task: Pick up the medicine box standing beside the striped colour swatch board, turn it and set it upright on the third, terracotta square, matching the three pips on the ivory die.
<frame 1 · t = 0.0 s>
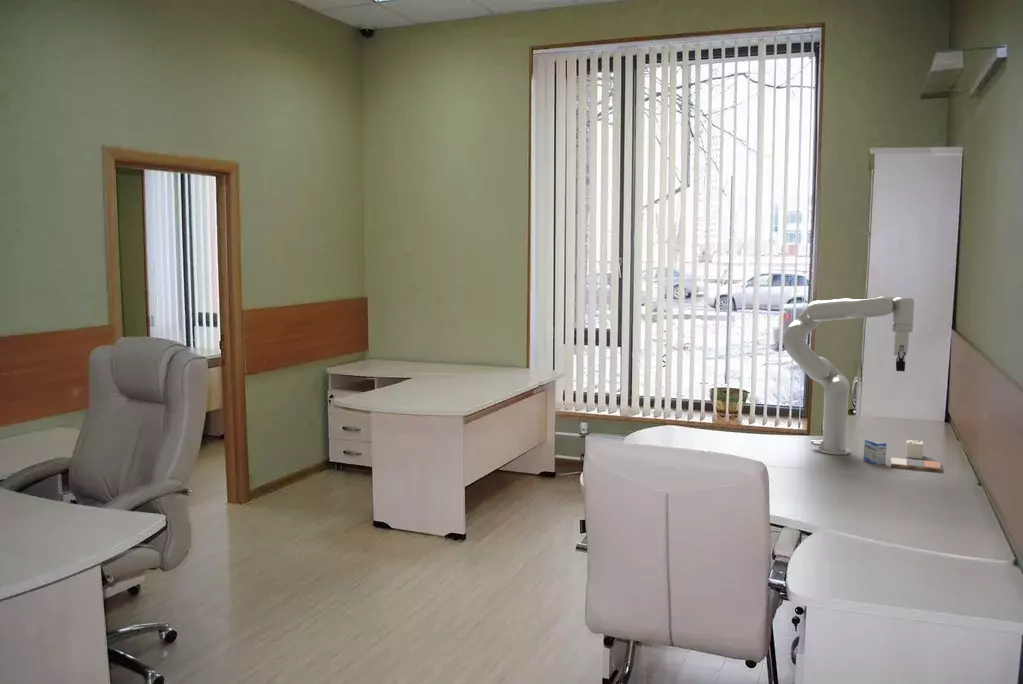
hand: (900, 369, 351), 37 cm above the table, tool pointing down, fingers open, 9 cm apart
medicine box: (874, 462, 347), on the table
striped colour swatch board: (915, 466, 342), on the table
die: (914, 456, 357), on the table
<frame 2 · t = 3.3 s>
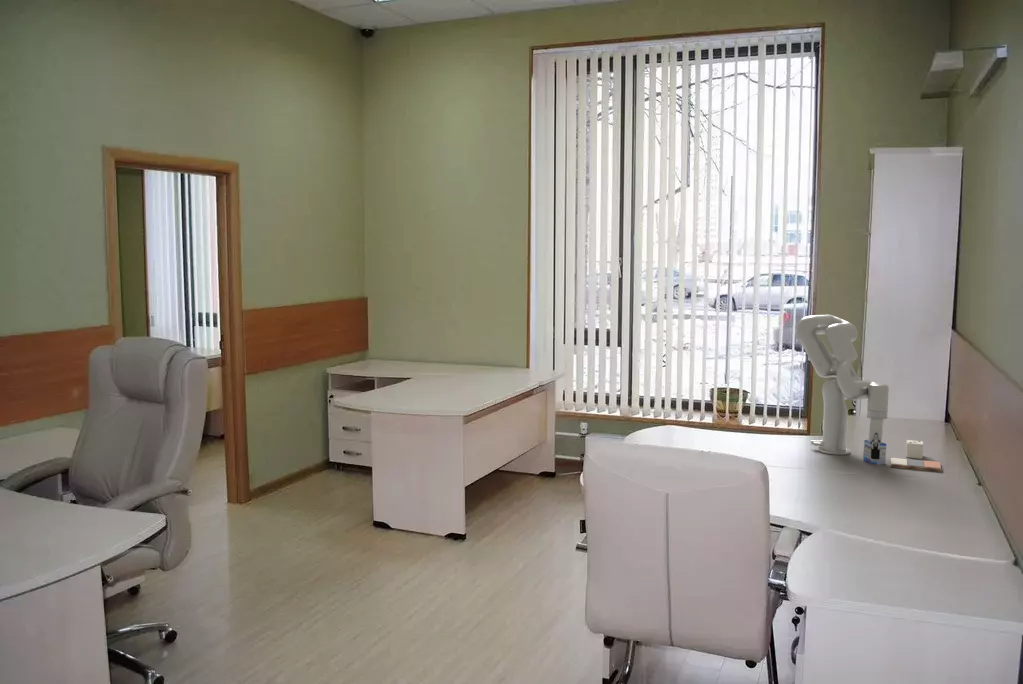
hand: (875, 456, 347), 3 cm above the table, tool pointing down, fingers closed on medicine box, 8 cm apart
medicine box: (874, 462, 347), on the table, touching gripper
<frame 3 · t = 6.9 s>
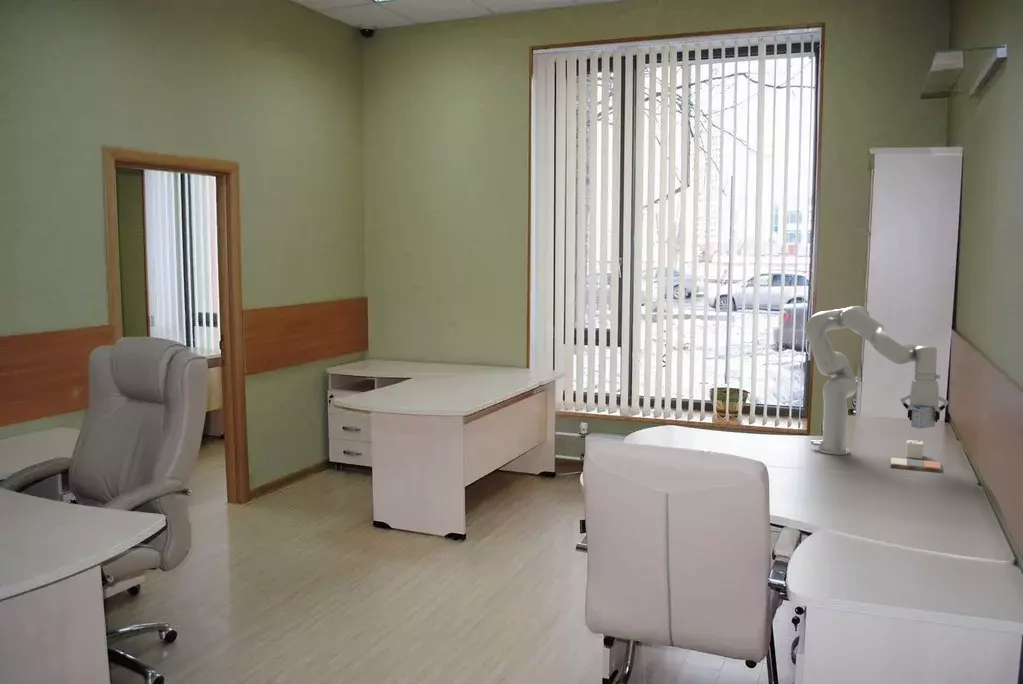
hand: (923, 420, 338), 19 cm above the table, tool pointing down, fingers closed on medicine box, 8 cm apart
medicine box: (922, 427, 339), point 16 cm above the table, touching gripper
when the fingers open (5 cm above the table, at t = 10.5 s): medicine box drops 1 cm, resting on striped colour swatch board.
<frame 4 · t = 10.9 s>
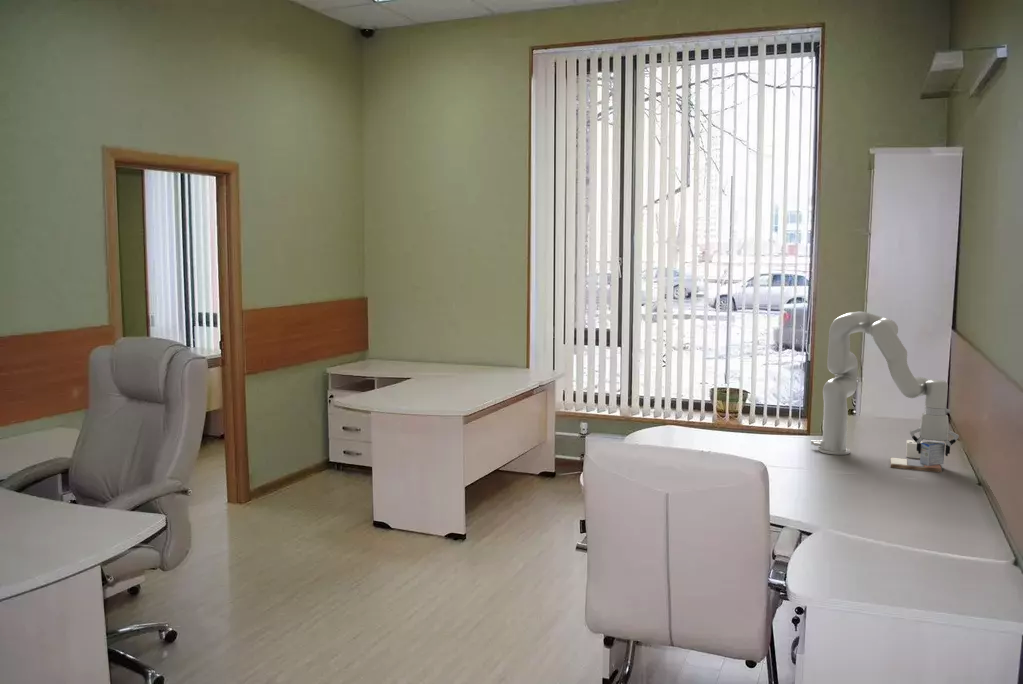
hand: (932, 454, 338), 6 cm above the table, tool pointing down, fingers open, 9 cm apart
medicine box: (931, 464, 339), point 1 cm above the table, touching striped colour swatch board
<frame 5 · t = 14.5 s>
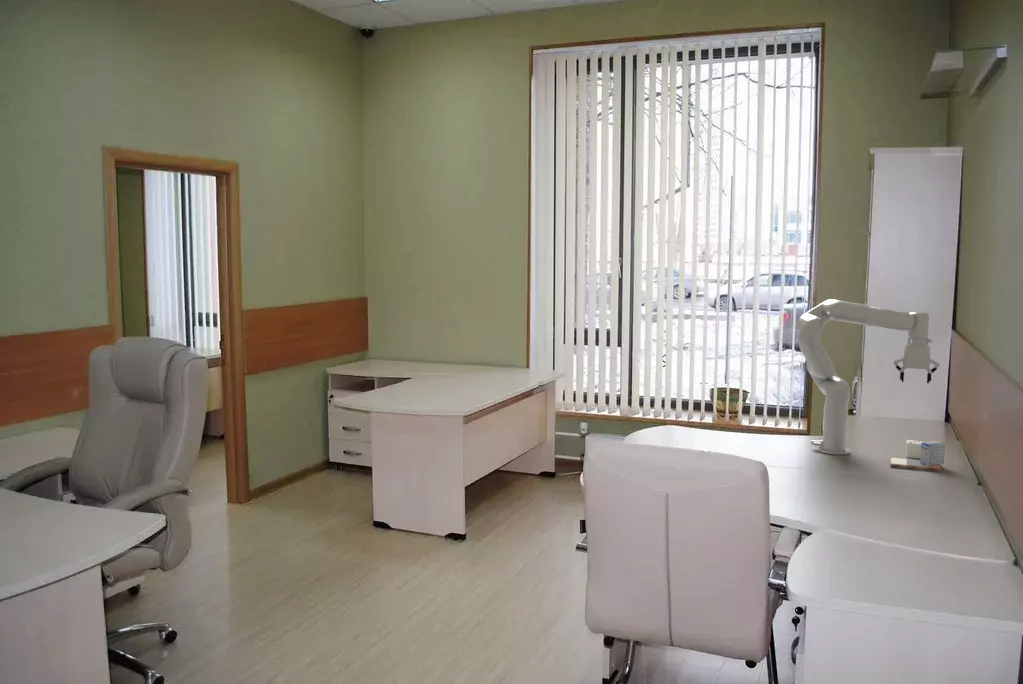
hand: (915, 382, 358), 30 cm above the table, tool pointing down, fingers open, 9 cm apart
nothing on the table moved.
at the end: medicine box inside the target area (0.3 cm from its centre), point 1.2 cm above the table; medicine box tilted 0°; the gripper is holding nothing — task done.
